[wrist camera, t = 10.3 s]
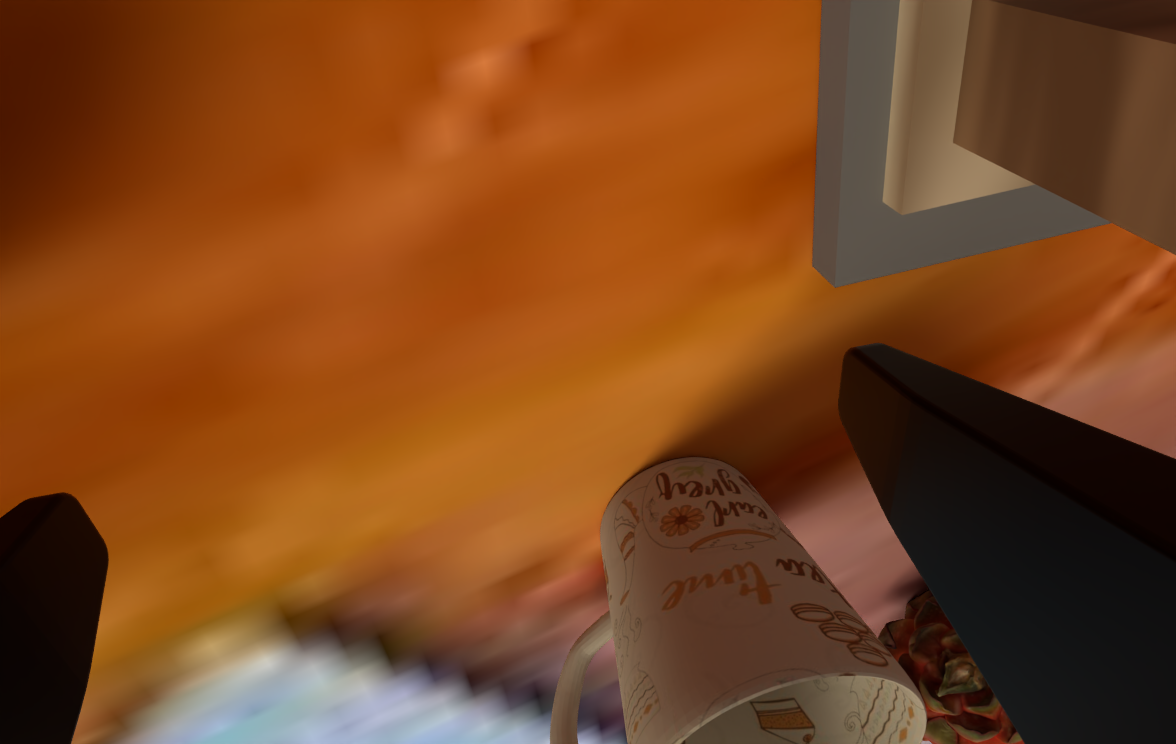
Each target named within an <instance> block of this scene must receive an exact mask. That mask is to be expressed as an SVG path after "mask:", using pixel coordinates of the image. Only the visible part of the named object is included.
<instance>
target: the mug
mask: <svg viewBox="0 0 1176 744" xmlns="http://www.w3.org/2000/svg"><path fill="white" fill-rule="evenodd" d="M600 541H601V550H602V557H603V565H604V572H605V580H606V587H607V594H608V602H609V609H610V610H609V611H608V612H606V613H605V614H604V615H603V616H602V617H600V618H599V619H598V620H597V621H596V622H595V623H594V624H592V625H591V626H590V627H589V628H588V629H587V630H586V631H585V632H584V633H583V634H582V635H581V636H580V637H579V638H578V639H577V641H576V642H575V643H574V645H573V647H572V648H571V650H570V652H569V654H568V656H567V659H566V661H565V663H564V666H563V669H562V672H561V675H560V678H559V682H558V686H557V690H556V694H555V699H554V705H553V710H552V718H551V729H550V744H578V739H577V718H578V708H579V702H580V696H581V690H582V686H583V681H584V677H585V674H586V670H587V668H588V665H589V663H590V661H591V660H592V658H593V656H594V655H595V653H596V652H597V651H598V650H599V649H600V648H601V647H602V646H603V645H604V644H605V643H606V642H608V641H609V640H610V639H611V638H612V637H613V638H614V646H615V653H616V661H617V668H618V675H619V683H620V690H621V697H622V705H623V712H624V719H625V727H626V734H627V742H628V744H921V742H922V739H923V736H924V733H925V730H926V724H927V711H926V708H925V704H924V702H923V699H922V697H921V695H920V693H919V691H918V690H917V688H916V686H915V685H914V683H913V682H912V681H911V679H910V678H909V676H908V675H907V674H906V672H905V671H904V670H903V668H902V667H901V666H900V665H899V663H898V662H897V661H896V660H895V659H894V657H893V656H892V655H891V654H890V652H889V651H888V650H887V649H886V648H885V646H884V645H883V644H882V643H881V641H880V640H879V639H878V638H877V637H876V635H875V634H874V633H873V632H872V630H871V629H870V628H869V627H868V626H867V624H866V623H865V622H864V621H863V620H862V618H861V617H860V616H859V615H858V613H857V612H856V611H855V610H854V609H853V607H852V606H851V605H850V604H849V603H848V601H847V600H846V599H845V598H844V596H843V595H842V594H841V593H840V592H839V590H838V589H837V588H836V587H835V585H834V584H833V583H832V582H831V581H830V579H829V578H828V577H827V576H826V575H825V573H824V572H823V571H822V570H821V568H820V567H819V566H818V565H817V564H816V562H815V561H814V560H813V559H812V557H811V556H810V555H809V554H808V553H807V551H806V550H805V549H804V548H803V547H802V545H801V544H800V543H799V542H798V540H797V539H796V538H795V537H794V536H793V534H792V533H791V532H790V531H789V529H788V528H787V527H786V526H785V525H784V523H783V522H782V521H781V520H780V519H779V517H778V516H777V515H776V514H775V512H774V511H773V510H772V509H771V508H770V506H769V505H768V504H767V503H766V501H765V500H764V499H763V498H762V497H761V495H760V494H759V493H758V492H757V491H756V489H755V488H754V487H753V486H752V485H751V483H750V482H749V481H748V480H747V479H746V478H745V477H744V476H743V475H742V474H741V473H740V472H739V471H738V470H737V469H735V468H734V467H732V466H730V465H729V464H727V463H724V462H722V461H719V460H715V459H710V458H703V457H688V458H680V459H675V460H670V461H667V462H664V463H661V464H658V465H655V466H653V467H651V468H649V469H647V470H645V471H643V472H642V473H640V474H638V475H637V476H635V477H634V478H632V479H631V480H630V481H629V482H627V483H626V484H625V485H624V486H623V487H622V488H621V489H620V490H619V491H618V492H617V493H616V494H615V496H614V497H613V498H612V500H611V501H610V503H609V504H608V506H607V508H606V510H605V513H604V515H603V518H602V522H601V528H600Z"/></svg>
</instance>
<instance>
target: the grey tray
mask: <svg viewBox="0 0 1176 744" xmlns="http://www.w3.org/2000/svg"><path fill="white" fill-rule="evenodd" d="M899 5H900V0H822V14H821V41H820V69H819V97H818V124H817V152H816V180H815V207H814V235H813V263H812V266H813V267H814V268H815V269H816V270H817V271H818V272H819V273H820V274H821V275H822V276H823V277H824V278H825V279H826V280H827V281H828V282H830V283H831V284H832V285H833V286H834V287H839V286H844V285H848V284H852V283H857V282H861V281H865V280H869V279H874V278H878V277H882V276H887V275H891V274H895V273H899V272H904V271H908V270H912V269H917V268H921V267H925V266H929V265H934V264H938V263H942V262H946V261H951V260H955V259H959V258H964V257H968V256H972V255H976V254H981V253H985V252H989V251H994V250H998V249H1002V248H1006V247H1011V246H1015V245H1019V244H1024V243H1028V242H1032V241H1036V240H1041V239H1045V238H1049V237H1053V236H1058V235H1062V234H1066V233H1071V232H1075V231H1079V230H1083V229H1088V228H1092V227H1096V226H1101V225H1105V224H1109V223H1111V222H1109V221H1107V220H1105V219H1103V218H1101V217H1099V216H1097V215H1095V214H1093V213H1091V212H1089V211H1087V210H1085V209H1084V208H1082V207H1080V206H1078V205H1076V204H1074V203H1072V202H1070V201H1068V200H1066V199H1064V198H1062V197H1060V196H1058V195H1056V194H1054V193H1052V192H1050V191H1048V190H1046V189H1044V188H1042V187H1040V186H1038V185H1036V184H1035V185H1031V186H1026V187H1022V188H1018V189H1013V190H1009V191H1005V192H1000V193H996V194H992V195H987V196H983V197H979V198H974V199H970V200H966V201H961V202H957V203H952V204H948V205H944V206H939V207H935V208H931V209H926V210H922V211H918V212H913V213H909V214H905V215H901V214H899V213H898V212H896V211H895V210H894V209H892V208H891V207H889V206H888V205H886V204H885V203H883V191H884V179H885V168H886V156H887V144H888V133H889V121H890V110H891V98H892V86H893V75H894V63H895V52H896V40H897V28H898V17H899Z"/></svg>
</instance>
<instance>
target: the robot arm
mask: <svg viewBox="0 0 1176 744" xmlns="http://www.w3.org/2000/svg"><path fill="white" fill-rule="evenodd" d="M838 410H839V415H840V419H841V421H842V424H843V426H844V428H845V430H846V432H847V435H848V437H849V439H850V441H851V443H852V445H853V448H854V450H855V452H856V454H857V456H858V458H859V460H860V463H861V465H862V467H863V469H864V471H865V473H866V475H867V478H868V480H869V482H870V484H871V486H872V488H873V491H874V493H875V495H876V497H877V499H878V501H879V503H880V506H881V508H882V510H883V512H884V514H885V516H886V518H887V520H888V522H889V523H890V525H891V527H892V529H893V530H894V532H895V534H896V535H897V537H898V539H899V541H900V542H901V544H902V545H903V547H904V549H905V550H906V552H907V554H908V555H909V557H910V558H911V560H912V562H913V563H914V565H915V567H916V568H917V570H918V571H919V573H920V575H921V576H922V578H923V580H924V581H925V583H926V584H927V586H928V588H929V589H930V591H931V593H932V594H933V596H934V597H935V599H936V601H937V602H938V604H939V606H940V607H941V609H942V610H943V612H944V614H945V615H946V617H947V619H948V620H949V622H950V623H951V625H952V627H953V628H954V630H955V632H956V633H957V635H958V636H959V638H960V640H961V641H962V643H963V645H964V646H965V648H966V649H967V651H968V653H969V654H970V656H971V658H972V659H973V661H974V662H975V664H976V666H977V667H978V669H979V671H980V672H981V674H982V675H983V677H984V679H985V680H986V682H987V684H988V685H989V687H990V688H991V690H992V692H993V693H994V695H995V697H996V698H997V700H998V701H999V703H1000V705H1001V706H1002V708H1003V710H1004V711H1005V713H1006V714H1007V716H1008V718H1009V719H1010V721H1011V722H1012V724H1013V726H1014V727H1015V729H1016V731H1017V732H1018V734H1019V735H1020V737H1021V739H1022V740H1023V742H1024V744H1176V459H1174V458H1172V457H1169V456H1167V455H1164V454H1162V453H1159V452H1157V451H1154V450H1152V449H1149V448H1146V447H1144V446H1141V445H1139V444H1136V443H1134V442H1131V441H1129V440H1126V439H1124V438H1121V437H1118V436H1116V435H1113V434H1111V433H1108V432H1106V431H1103V430H1101V429H1098V428H1096V427H1093V426H1091V425H1088V424H1085V423H1083V422H1080V421H1078V420H1075V419H1073V418H1070V417H1068V416H1065V415H1063V414H1060V413H1058V412H1055V411H1052V410H1050V409H1047V408H1045V407H1042V406H1040V405H1037V404H1035V403H1032V402H1030V401H1027V400H1025V399H1022V398H1019V397H1017V396H1014V395H1012V394H1009V393H1007V392H1004V391H1002V390H999V389H997V388H994V387H992V386H989V385H986V384H984V383H981V382H979V381H976V380H974V379H971V378H969V377H966V376H964V375H961V374H958V373H956V372H953V371H951V370H948V369H946V368H943V367H941V366H938V365H936V364H933V363H931V362H928V361H925V360H923V359H920V358H918V357H915V356H913V355H910V354H908V353H905V352H903V351H900V350H898V349H895V348H892V347H890V346H887V345H885V344H882V343H874V344H869V345H864V346H858V347H853V348H850V349H849V350H848V351H847V352H846V353H845V355H844V358H843V364H842V373H841V382H840V390H839V399H838ZM108 561H109V559H108V550H107V547H106V544H105V542H104V540H103V538H102V537H101V535H100V534H99V532H98V530H97V529H96V527H95V526H94V524H93V523H92V521H91V520H90V518H89V517H88V515H87V514H86V512H85V510H84V509H83V507H82V506H81V504H80V503H79V501H78V500H77V499H76V498H75V497H74V496H72V495H71V494H68V493H64V492H63V493H56V494H50V495H45V496H39V497H34V498H30V499H27V500H25V501H23V502H21V503H20V504H19V505H17V506H16V507H15V508H13V509H12V510H10V511H9V512H8V513H6V514H5V515H4V516H2V517H1V518H0V744H71V742H72V738H73V735H74V732H75V728H76V725H77V721H78V718H79V714H80V711H81V707H82V703H83V700H84V696H85V692H86V688H87V683H88V679H89V674H90V669H91V664H92V658H93V652H94V646H95V640H96V634H97V628H98V622H99V616H100V611H101V605H102V599H103V593H104V587H105V581H106V575H107V569H108Z"/></svg>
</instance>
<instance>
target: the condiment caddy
mask: <svg viewBox="0 0 1176 744" xmlns="http://www.w3.org/2000/svg"><path fill="white" fill-rule="evenodd" d="M1035 184H1036V185H1038V186H1040V187H1042V188H1044V189H1046V190H1048V191H1050V192H1052V193H1054V194H1056V195H1058V196H1060V197H1062V198H1064V199H1066V200H1068V201H1070V202H1072V203H1074V204H1076V205H1078V206H1080V207H1082V208H1084V209H1085V210H1087V211H1089V212H1091V213H1093V214H1095V215H1097V216H1099V217H1101V218H1103V219H1105V220H1107V221H1109V222H1111V223H1113V224H1115V225H1117V226H1119V227H1121V228H1123V229H1125V230H1127V231H1129V232H1131V233H1133V234H1135V235H1137V236H1139V237H1141V238H1143V239H1145V240H1147V241H1149V242H1151V243H1153V244H1155V245H1157V246H1159V247H1161V248H1163V249H1165V250H1167V251H1169V252H1171V253H1173V254H1175V255H1176V0H900V5H899V17H898V28H897V40H896V52H895V63H894V75H893V86H892V98H891V110H890V121H889V133H888V144H887V156H886V168H885V179H884V191H883V203H885V204H886V205H888V206H889V207H891V208H892V209H894V210H895V211H896V212H898V213H899V214H901V215H905V214H909V213H913V212H918V211H922V210H926V209H931V208H935V207H939V206H944V205H948V204H952V203H957V202H961V201H966V200H970V199H974V198H979V197H983V196H987V195H992V194H996V193H1000V192H1005V191H1009V190H1013V189H1018V188H1022V187H1026V186H1031V185H1035Z"/></svg>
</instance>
